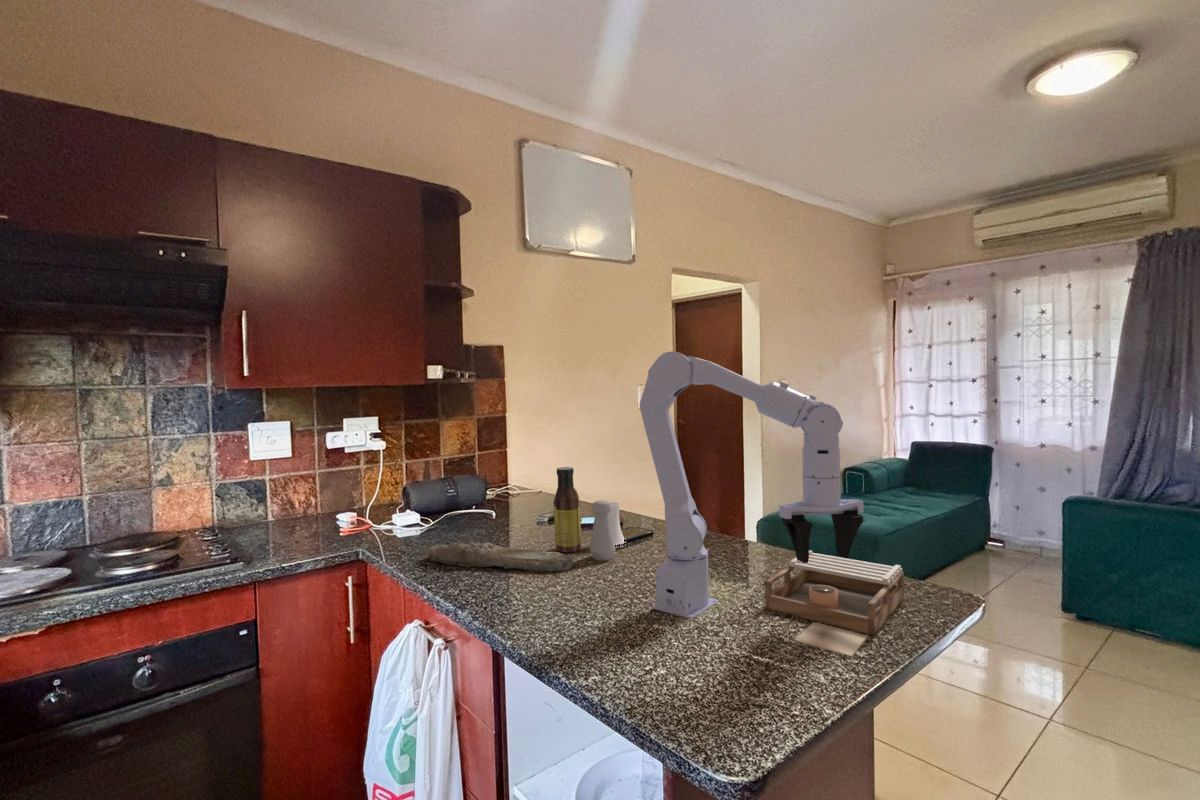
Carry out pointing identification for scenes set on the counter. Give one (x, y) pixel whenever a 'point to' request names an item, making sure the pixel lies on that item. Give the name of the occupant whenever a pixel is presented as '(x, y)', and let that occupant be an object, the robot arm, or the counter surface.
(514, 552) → the long grey stone
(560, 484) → the sauce bottle
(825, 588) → the pot
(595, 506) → the salt shaker
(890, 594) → the box
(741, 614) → the counter surface
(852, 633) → the mat
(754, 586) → the counter surface
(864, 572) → the cover
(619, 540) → the vase
